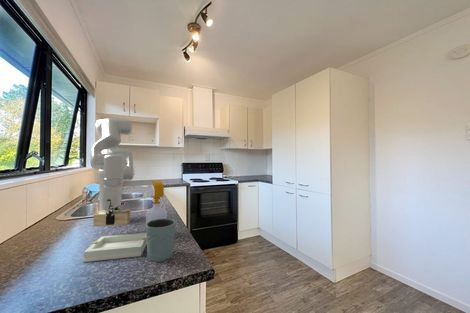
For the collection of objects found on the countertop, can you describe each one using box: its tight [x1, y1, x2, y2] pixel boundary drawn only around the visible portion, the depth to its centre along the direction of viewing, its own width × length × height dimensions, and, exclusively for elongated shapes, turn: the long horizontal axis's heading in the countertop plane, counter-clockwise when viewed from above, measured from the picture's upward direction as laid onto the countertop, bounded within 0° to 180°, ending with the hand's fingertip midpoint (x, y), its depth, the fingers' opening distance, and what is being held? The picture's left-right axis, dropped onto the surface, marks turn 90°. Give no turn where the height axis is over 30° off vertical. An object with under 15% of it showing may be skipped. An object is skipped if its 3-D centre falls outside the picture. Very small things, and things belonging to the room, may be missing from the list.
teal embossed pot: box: [145, 217, 177, 263], centre depth 71 cm, size 10×10×12 cm
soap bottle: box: [145, 180, 168, 224], centre depth 91 cm, size 9×9×25 cm
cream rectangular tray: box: [82, 232, 147, 263], centre depth 76 cm, size 15×18×4 cm
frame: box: [93, 209, 132, 227], centre depth 89 cm, size 6×13×5 cm, turn 103°
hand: (113, 221), depth 89 cm, fingers closed on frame, 6 cm apart
